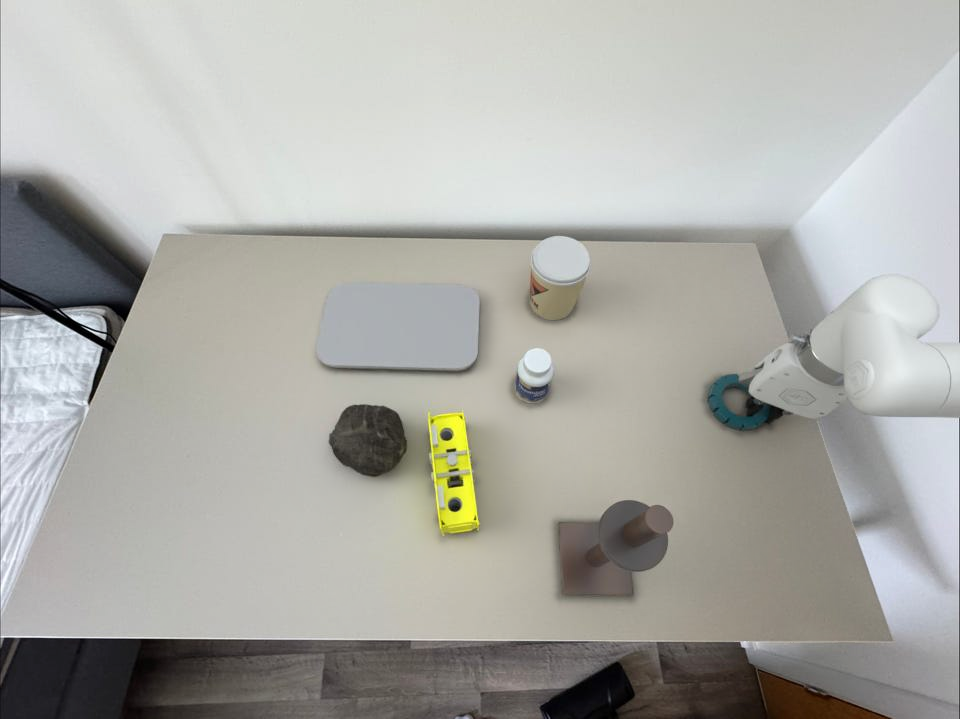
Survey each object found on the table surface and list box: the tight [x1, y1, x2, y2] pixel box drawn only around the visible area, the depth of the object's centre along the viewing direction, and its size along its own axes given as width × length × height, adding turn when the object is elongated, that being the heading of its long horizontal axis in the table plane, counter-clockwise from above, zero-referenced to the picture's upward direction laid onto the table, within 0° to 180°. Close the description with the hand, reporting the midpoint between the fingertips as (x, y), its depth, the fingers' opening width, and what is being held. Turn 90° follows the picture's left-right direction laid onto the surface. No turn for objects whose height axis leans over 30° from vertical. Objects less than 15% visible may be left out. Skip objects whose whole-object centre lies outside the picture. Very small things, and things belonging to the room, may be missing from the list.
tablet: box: [315, 281, 481, 372], centre depth 84 cm, size 16×26×2 cm, turn 88°
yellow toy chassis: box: [427, 409, 481, 537], centre depth 69 cm, size 16×6×8 cm, turn 8°
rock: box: [328, 403, 408, 478], centre depth 71 cm, size 10×11×10 cm
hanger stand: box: [557, 499, 674, 597], centre depth 55 cm, size 9×9×28 cm
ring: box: [707, 373, 771, 431], centre depth 78 cm, size 9×9×2 cm
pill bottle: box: [514, 347, 555, 404], centre depth 75 cm, size 5×5×10 cm
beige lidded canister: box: [529, 235, 592, 321], centre depth 82 cm, size 9×9×12 cm
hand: (759, 411), depth 77 cm, fingers closed on ring, 2 cm apart
